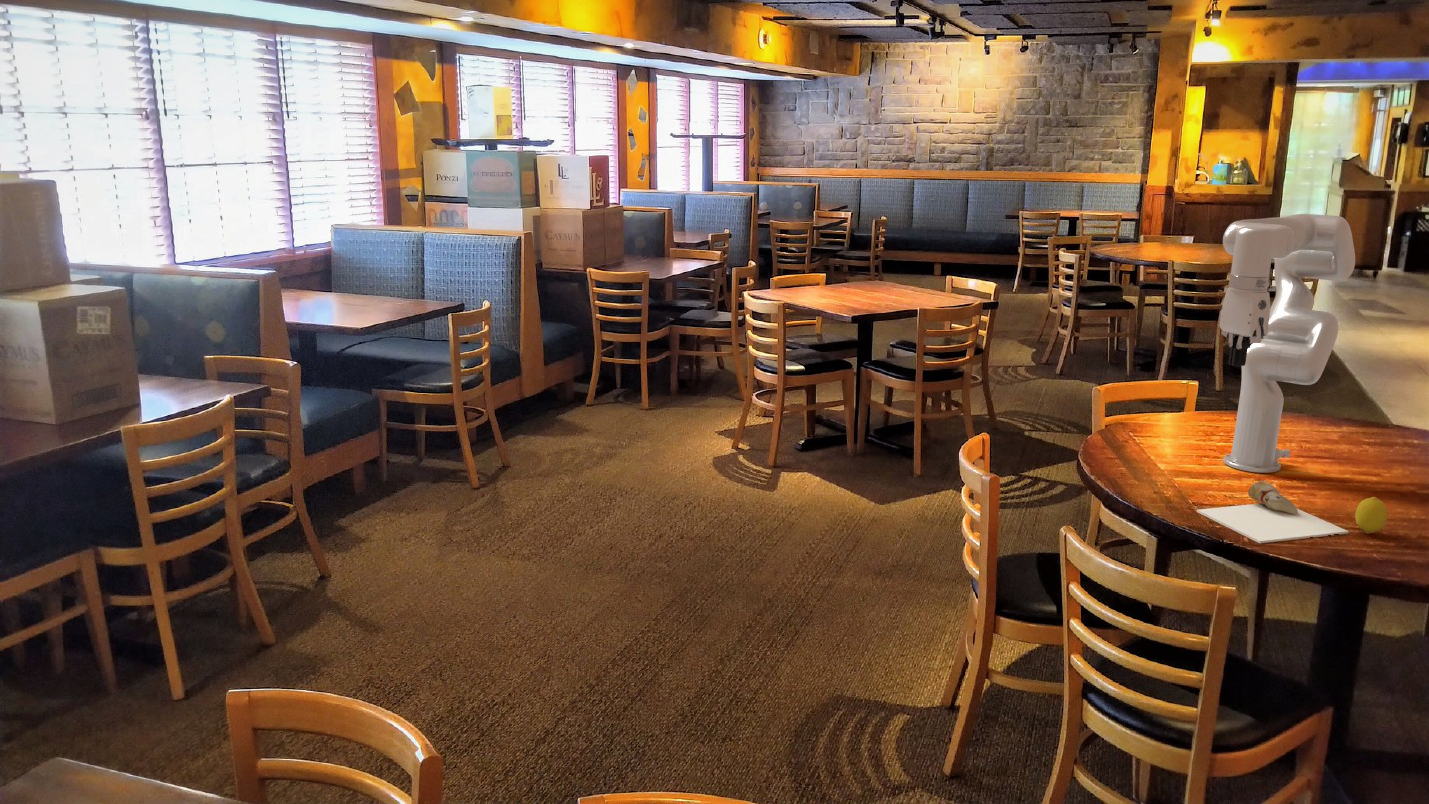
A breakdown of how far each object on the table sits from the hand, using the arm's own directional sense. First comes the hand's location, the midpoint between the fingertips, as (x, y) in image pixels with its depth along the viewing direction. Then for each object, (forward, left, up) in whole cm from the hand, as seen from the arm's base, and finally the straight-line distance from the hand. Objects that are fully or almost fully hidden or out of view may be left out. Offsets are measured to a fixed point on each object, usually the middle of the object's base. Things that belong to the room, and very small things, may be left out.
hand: (1236, 365), depth 231 cm
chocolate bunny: (-1, +11, -26) cm, 28 cm away
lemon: (-10, +31, -29) cm, 44 cm away
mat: (+5, +21, -29) cm, 36 cm away
